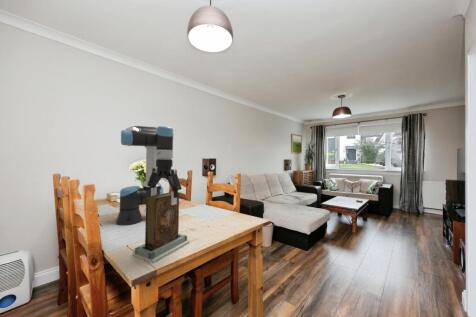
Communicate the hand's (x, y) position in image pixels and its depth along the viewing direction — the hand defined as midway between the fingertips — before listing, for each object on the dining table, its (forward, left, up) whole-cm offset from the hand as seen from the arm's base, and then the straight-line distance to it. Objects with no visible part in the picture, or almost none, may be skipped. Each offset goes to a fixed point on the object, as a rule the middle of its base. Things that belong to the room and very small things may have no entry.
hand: (163, 202), depth 95 cm
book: (0, 0, -21) cm, 21 cm away
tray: (0, 0, -22) cm, 22 cm away
